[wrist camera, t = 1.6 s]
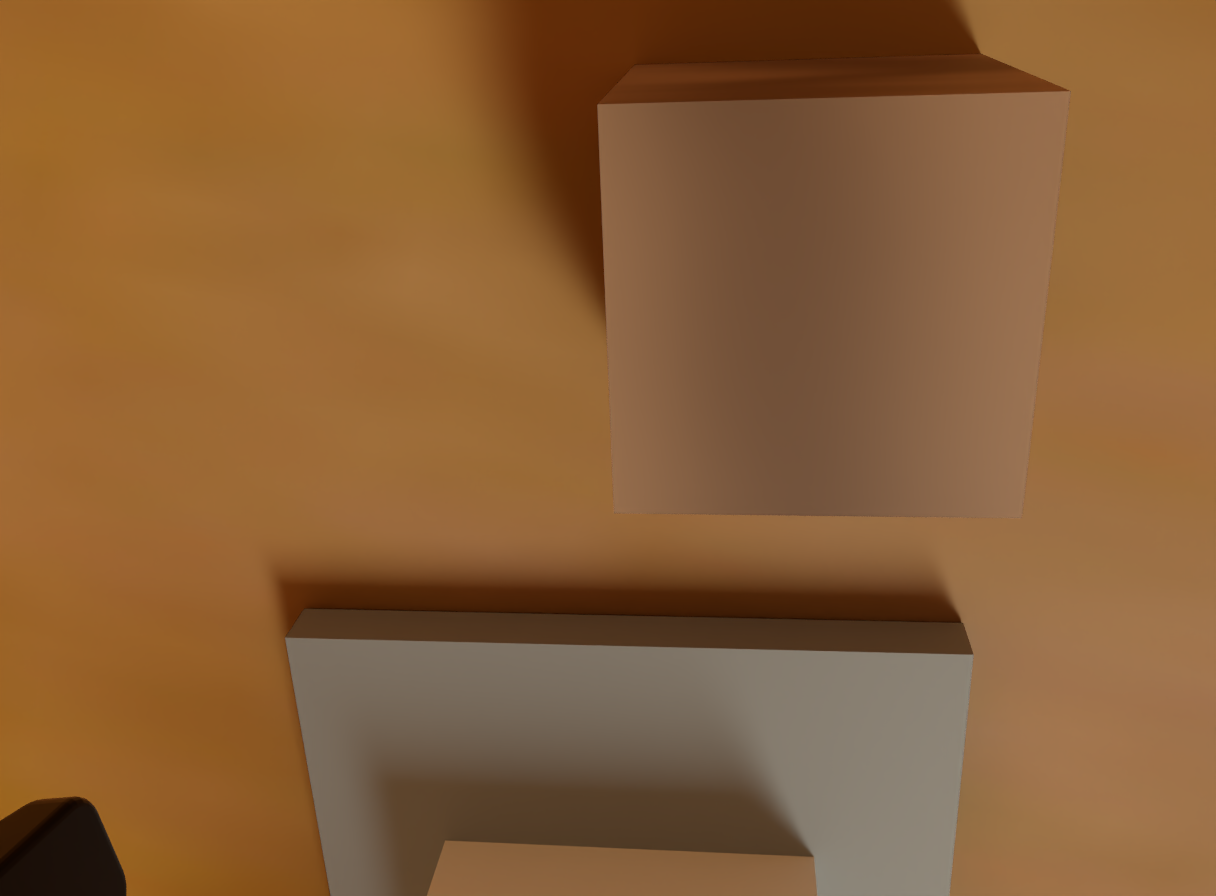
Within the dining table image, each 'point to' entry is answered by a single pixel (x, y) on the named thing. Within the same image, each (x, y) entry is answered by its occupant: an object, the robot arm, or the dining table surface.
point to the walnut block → (827, 283)
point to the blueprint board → (631, 753)
